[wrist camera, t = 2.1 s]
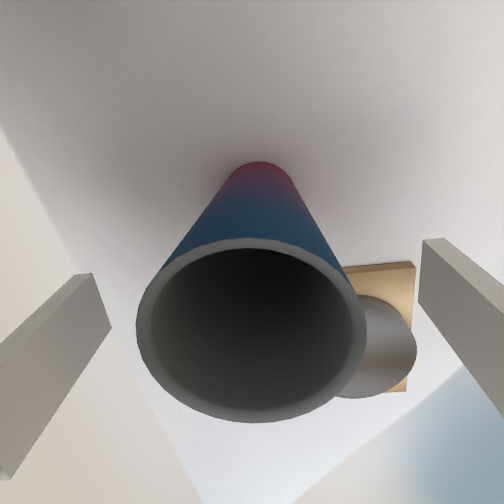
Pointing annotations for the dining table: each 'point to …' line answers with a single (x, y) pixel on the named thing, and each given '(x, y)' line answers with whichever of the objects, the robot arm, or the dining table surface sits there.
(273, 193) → the cup
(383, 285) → the stand board
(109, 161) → the dining table surface
